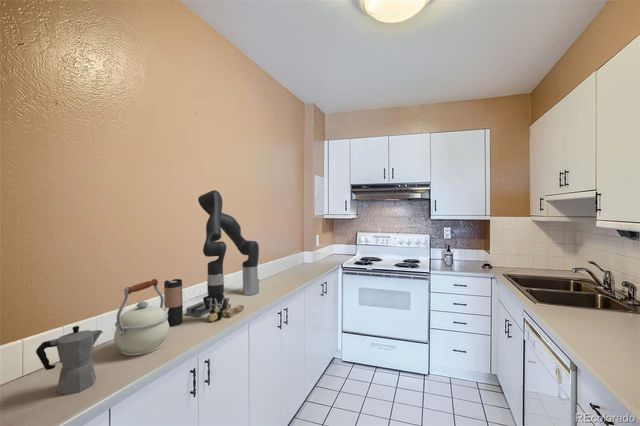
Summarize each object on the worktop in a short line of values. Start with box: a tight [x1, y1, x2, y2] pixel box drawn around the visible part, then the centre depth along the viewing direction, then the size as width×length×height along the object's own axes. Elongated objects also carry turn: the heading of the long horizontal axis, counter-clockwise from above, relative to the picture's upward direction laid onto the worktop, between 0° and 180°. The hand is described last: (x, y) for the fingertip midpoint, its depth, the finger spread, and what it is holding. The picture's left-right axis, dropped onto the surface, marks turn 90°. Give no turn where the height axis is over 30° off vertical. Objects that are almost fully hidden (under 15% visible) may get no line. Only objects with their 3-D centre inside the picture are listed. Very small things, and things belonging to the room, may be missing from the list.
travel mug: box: [163, 278, 184, 327], centre depth 140 cm, size 8×8×20 cm
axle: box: [206, 309, 227, 323], centre depth 146 cm, size 10×4×4 cm, turn 162°
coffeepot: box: [35, 325, 104, 395], centre depth 90 cm, size 15×9×18 cm, turn 137°
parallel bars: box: [215, 303, 245, 319], centre depth 154 cm, size 12×11×2 cm
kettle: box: [113, 278, 170, 357], centre depth 118 cm, size 25×18×25 cm
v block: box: [185, 300, 217, 318], centre depth 156 cm, size 12×9×4 cm
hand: (216, 318), depth 146 cm, fingers closed on axle, 3 cm apart
